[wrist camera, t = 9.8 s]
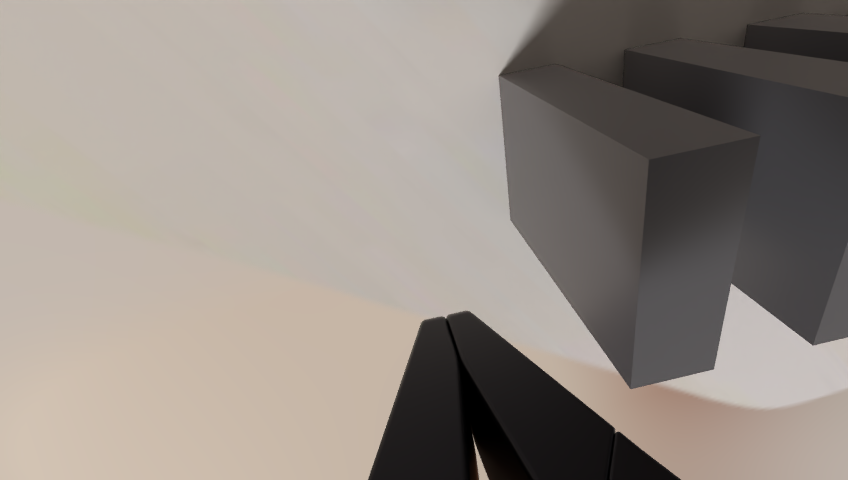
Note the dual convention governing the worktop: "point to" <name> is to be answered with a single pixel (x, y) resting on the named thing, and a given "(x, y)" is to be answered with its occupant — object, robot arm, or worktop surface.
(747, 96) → the tile
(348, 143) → the worktop surface
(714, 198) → the tile
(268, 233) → the worktop surface
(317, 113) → the worktop surface
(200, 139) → the worktop surface
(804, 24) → the tile
